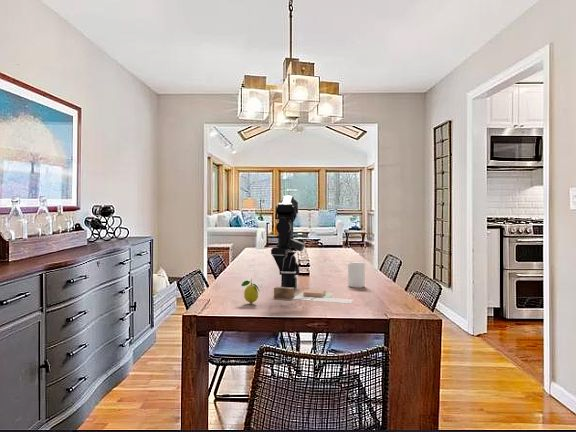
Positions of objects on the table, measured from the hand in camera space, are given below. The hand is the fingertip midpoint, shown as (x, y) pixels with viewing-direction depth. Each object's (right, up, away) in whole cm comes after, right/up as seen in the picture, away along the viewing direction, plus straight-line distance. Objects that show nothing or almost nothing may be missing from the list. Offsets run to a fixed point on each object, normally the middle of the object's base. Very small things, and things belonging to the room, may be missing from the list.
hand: (284, 269), depth 218 cm
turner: (+4, -12, -1) cm, 13 cm away
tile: (+14, -11, +10) cm, 20 cm away
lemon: (-13, -12, -12) cm, 22 cm away
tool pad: (+20, -12, -5) cm, 24 cm away
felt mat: (+13, -12, +7) cm, 19 cm away
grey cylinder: (+35, -12, +32) cm, 48 cm away
